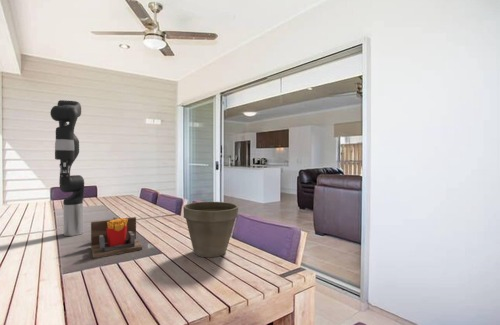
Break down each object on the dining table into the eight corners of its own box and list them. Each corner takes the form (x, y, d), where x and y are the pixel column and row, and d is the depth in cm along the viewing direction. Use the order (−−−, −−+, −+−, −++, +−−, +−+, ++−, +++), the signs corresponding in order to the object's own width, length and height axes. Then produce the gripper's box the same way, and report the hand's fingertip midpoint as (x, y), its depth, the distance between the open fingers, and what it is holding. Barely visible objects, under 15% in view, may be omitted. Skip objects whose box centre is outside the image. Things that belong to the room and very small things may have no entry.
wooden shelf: (91, 247, 131) (90, 221, 131) (135, 240, 142) (135, 216, 142) (93, 258, 117) (93, 229, 117) (142, 249, 128) (142, 223, 128)
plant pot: (245, 246, 133) (245, 202, 132) (224, 265, 109) (224, 212, 109) (200, 241, 141) (200, 199, 140) (172, 258, 118) (172, 208, 117)
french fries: (109, 250, 123) (109, 221, 122) (105, 248, 125) (105, 220, 125) (129, 245, 130) (129, 218, 129) (125, 243, 132) (125, 217, 132)
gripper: (74, 149, 123) (74, 185, 123) (74, 149, 134) (74, 182, 135) (54, 149, 118) (54, 186, 119) (55, 149, 130) (55, 182, 131)
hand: (64, 184), depth 127 cm, fingers open, 8 cm apart
